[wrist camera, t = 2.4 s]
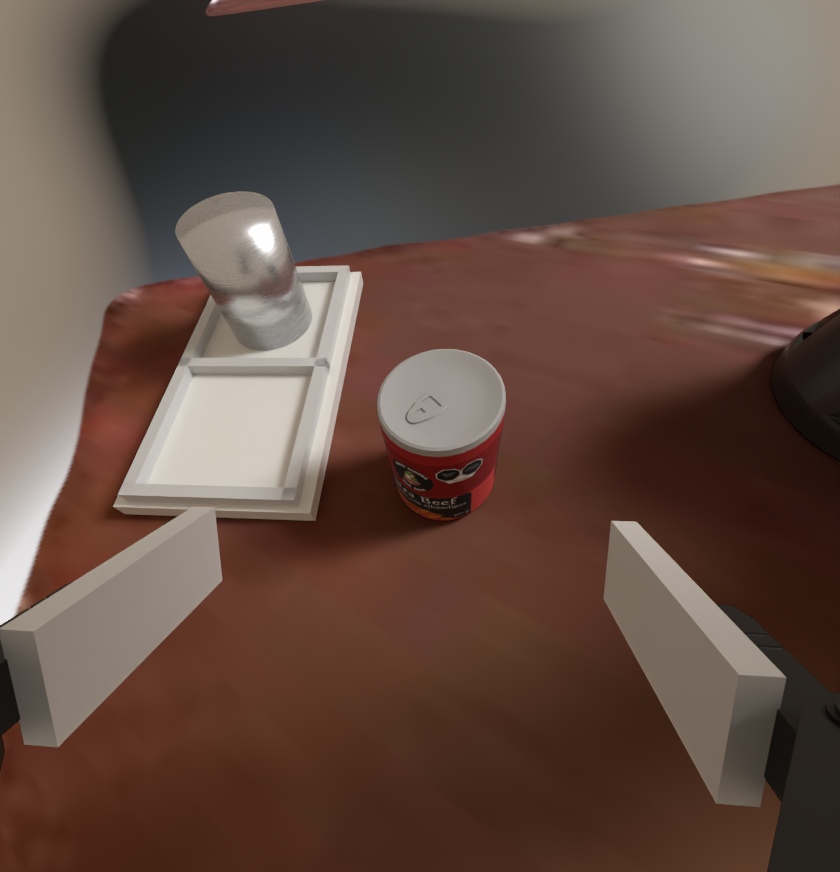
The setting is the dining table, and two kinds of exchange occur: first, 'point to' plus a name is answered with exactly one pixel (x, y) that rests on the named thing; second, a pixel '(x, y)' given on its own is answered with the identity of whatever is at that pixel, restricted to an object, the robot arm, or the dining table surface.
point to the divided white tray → (249, 415)
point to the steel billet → (247, 268)
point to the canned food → (443, 430)
